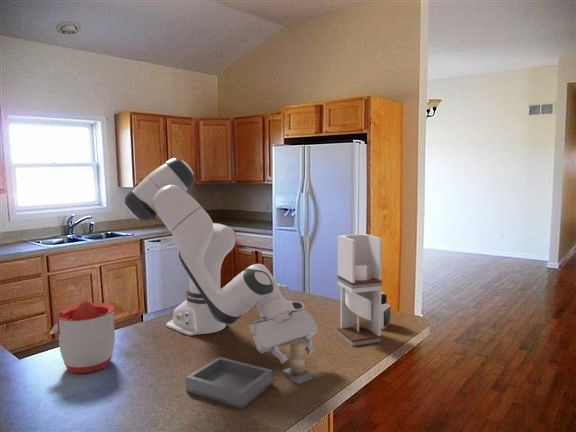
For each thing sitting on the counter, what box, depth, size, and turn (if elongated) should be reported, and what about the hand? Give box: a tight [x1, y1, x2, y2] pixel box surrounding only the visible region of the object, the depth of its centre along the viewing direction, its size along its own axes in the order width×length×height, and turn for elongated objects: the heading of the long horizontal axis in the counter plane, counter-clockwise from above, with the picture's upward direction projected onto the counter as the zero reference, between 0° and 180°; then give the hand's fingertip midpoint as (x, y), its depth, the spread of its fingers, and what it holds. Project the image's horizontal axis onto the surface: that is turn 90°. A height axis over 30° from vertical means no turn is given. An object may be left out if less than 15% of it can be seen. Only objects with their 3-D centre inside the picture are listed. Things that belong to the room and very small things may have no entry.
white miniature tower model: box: [337, 233, 383, 347], centre depth 148 cm, size 11×11×35 cm
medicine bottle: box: [381, 291, 391, 330], centre depth 162 cm, size 7×7×12 cm
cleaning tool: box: [282, 340, 314, 385], centre depth 122 cm, size 7×5×10 cm
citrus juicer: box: [49, 300, 116, 374], centre depth 129 cm, size 16×17×20 cm
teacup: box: [276, 282, 290, 297], centre depth 190 cm, size 14×11×8 cm
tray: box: [185, 356, 273, 410], centre depth 116 cm, size 18×14×4 cm
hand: (298, 357), depth 121 cm, fingers open, 8 cm apart
